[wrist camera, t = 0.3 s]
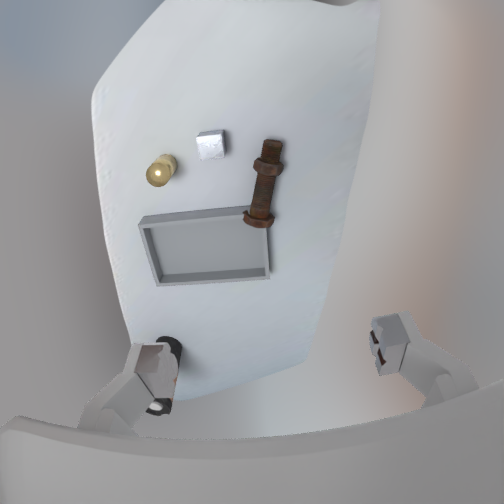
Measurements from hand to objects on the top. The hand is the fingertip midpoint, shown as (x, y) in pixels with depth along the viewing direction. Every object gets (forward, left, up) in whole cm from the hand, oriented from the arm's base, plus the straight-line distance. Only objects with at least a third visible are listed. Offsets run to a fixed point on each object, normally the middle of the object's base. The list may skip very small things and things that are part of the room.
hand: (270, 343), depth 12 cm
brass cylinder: (+5, -17, -46) cm, 49 cm away
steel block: (+2, -8, -46) cm, 47 cm away
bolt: (+10, +1, -46) cm, 47 cm away
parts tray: (+22, -12, -46) cm, 52 cm away
